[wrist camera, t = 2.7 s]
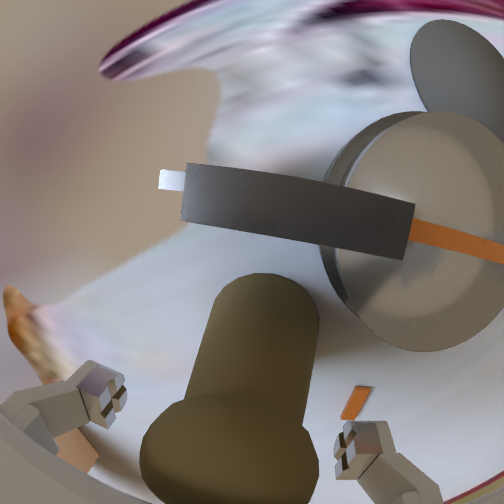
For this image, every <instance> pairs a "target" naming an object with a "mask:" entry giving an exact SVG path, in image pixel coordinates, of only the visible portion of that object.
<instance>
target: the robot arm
mask: <svg viewBox="0 0 504 504" xmlns="http://www.w3.org/2000/svg"><path fill="white" fill-rule="evenodd" d="M124 382H125V378H124V375H123V374H122V373H119V372H117V371H115V370H112V369H110V368H108V367H105V366H103V365H101V364H99V363H96V362H94V361H92V360H88V361H86V362H85V363H84V364H83V365H82V366H81V367H80V368H79V369H78V370H77V371H76V372H75V373H74V374H73V375H72V376H71V377H70V378H69V379H68V380H67V381H66V382H65V381H63V380H62V381H58V382H54V383H50V384H46V385H42V386H38V387H34V388H29V389H25V390H20V391H16V392H14V393H13V394H12V395H11V396H10V397H9V398H8V399H7V400H6V401H4V402H3V403H2V404H1V405H0V504H152V503H149V502H146V501H144V500H141V499H139V498H136V497H134V496H131V495H129V494H127V493H124V492H122V491H120V490H118V489H115V488H113V487H111V486H109V485H107V484H105V483H103V482H101V481H99V480H97V479H95V478H93V477H91V476H90V475H88V474H86V473H84V472H82V471H81V470H79V469H77V468H75V467H74V466H72V465H70V464H69V463H67V462H66V461H64V460H62V459H61V458H59V457H58V456H56V455H57V453H58V452H59V451H60V449H59V446H58V445H57V443H56V441H55V439H54V438H55V437H57V436H60V435H62V434H64V433H67V432H69V431H71V430H73V429H76V428H78V427H80V426H82V425H85V424H87V423H89V422H90V421H91V422H93V423H95V424H98V425H100V426H102V427H104V428H106V429H109V428H110V426H111V425H112V423H113V422H114V421H115V419H116V415H115V413H116V412H119V411H121V410H122V409H123V407H124V406H125V403H126V400H127V390H126V388H125V387H124V386H123V383H124ZM334 457H335V458H336V459H337V460H338V462H337V463H336V465H335V476H336V480H357V481H358V483H359V484H360V485H361V487H362V488H363V489H364V490H365V492H366V493H367V494H368V496H369V497H370V498H371V499H372V501H373V502H374V503H375V504H444V503H443V499H442V496H441V493H440V489H439V486H438V484H436V483H435V482H434V481H433V480H431V479H430V478H429V477H428V476H427V475H425V474H424V473H423V472H422V471H421V470H419V469H418V468H417V467H416V466H415V465H414V464H412V463H411V462H410V461H409V460H408V459H407V458H405V457H404V456H403V455H402V454H401V453H396V449H395V446H394V443H393V439H392V436H391V432H390V429H389V426H388V423H387V422H386V421H347V422H346V423H345V424H344V426H343V432H342V433H340V434H339V435H338V436H337V438H336V441H335V444H334ZM466 504H504V486H503V487H502V488H499V489H497V490H495V491H493V492H491V493H489V494H487V495H485V496H482V497H480V498H478V499H475V500H473V501H470V502H468V503H466Z"/></svg>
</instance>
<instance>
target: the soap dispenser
mask: <svg viewBox="0 0 504 504" xmlns="http://www.w3.org/2000/svg"><path fill="white" fill-rule="evenodd" d="M54 439H55V441H56V443H57V445H58V446H59V449H60V451H59V452H58V453H57V455H56V456H58V457H59V458H61V459H62V460H64V461H66V462H67V463H69V464H70V465H72V466H74V467H75V468H77V469H79V470H81V471H82V472H84V473H86V474H87V473H88V472H89V470H90V469H91V467H92V466H93V464H94V463H95V461H96V460H97V458H98V457H99V454H98V452H97V451H96V450H95V449H94V448H93V447H92V445H91V444H90V443H89V442H88V440H87V439H86V438H85V437H84V435H83V434H82V433H81V431H80V430H79V429H78V428H76V429H73V430H71V431H69V432H67V433H64V434H62V435H60V436H57V437H55V438H54Z"/></svg>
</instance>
